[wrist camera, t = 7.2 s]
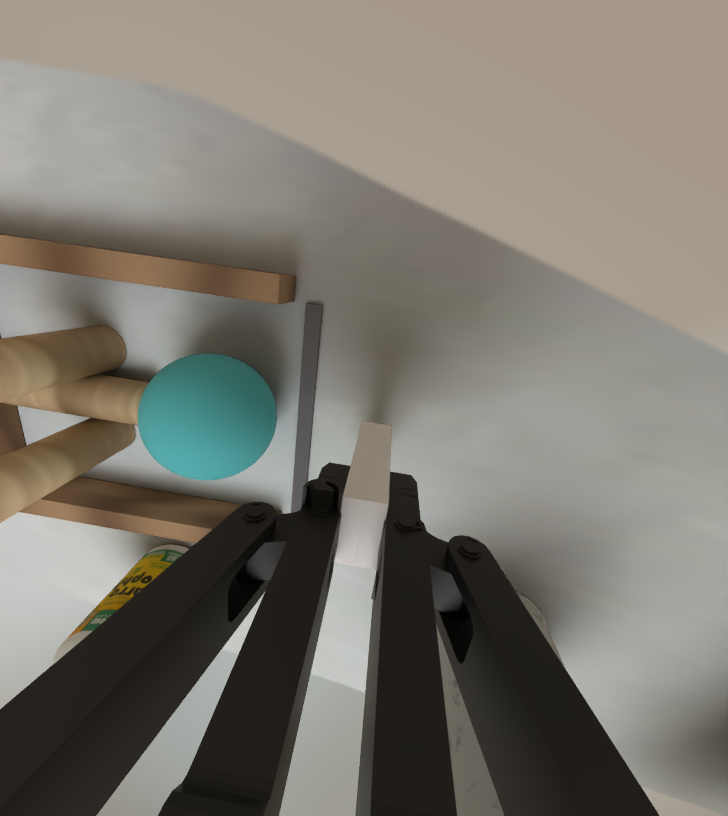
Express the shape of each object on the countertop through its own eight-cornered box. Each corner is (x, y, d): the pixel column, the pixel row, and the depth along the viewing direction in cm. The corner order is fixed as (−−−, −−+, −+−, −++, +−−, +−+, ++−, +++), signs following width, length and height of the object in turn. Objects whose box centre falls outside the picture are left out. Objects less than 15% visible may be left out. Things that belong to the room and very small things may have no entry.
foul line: (322, 305, 17) (321, 305, 17) (304, 515, 22) (303, 517, 21) (306, 303, 17) (305, 303, 17) (291, 513, 22) (291, 515, 22)
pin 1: (123, 328, 19) (-82, 362, 11) (128, 371, 19) (-59, 432, 11) (81, 322, 19) (-154, 350, 11) (88, 365, 20) (-126, 421, 12)
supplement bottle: (167, 605, 26) (43, 779, 17) (130, 549, 24) (-29, 707, 15) (230, 593, 25) (134, 771, 16) (196, 533, 23) (67, 693, 14)
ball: (104, 339, 14) (209, 342, 19) (99, 476, 15) (198, 441, 21) (235, 374, 12) (305, 366, 18) (216, 522, 14) (287, 470, 19)
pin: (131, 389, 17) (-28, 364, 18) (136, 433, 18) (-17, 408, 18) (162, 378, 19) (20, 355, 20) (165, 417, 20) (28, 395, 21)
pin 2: (133, 414, 20) (-38, 497, 12) (137, 450, 21) (-21, 550, 13) (94, 407, 20) (-100, 486, 12) (99, 444, 21) (-79, 539, 13)
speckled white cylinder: (435, 693, 26) (465, 1015, 15) (383, 604, 24) (369, 908, 12) (565, 666, 24) (719, 1019, 12) (522, 565, 21) (667, 891, 10)
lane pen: (295, 276, 17) (275, 274, 14) (280, 527, 22) (263, 562, 19) (-53, 226, 18) (-138, 215, 15) (13, 480, 23) (-41, 508, 20)
